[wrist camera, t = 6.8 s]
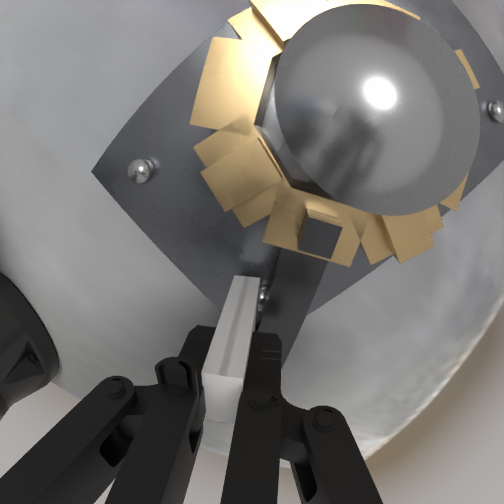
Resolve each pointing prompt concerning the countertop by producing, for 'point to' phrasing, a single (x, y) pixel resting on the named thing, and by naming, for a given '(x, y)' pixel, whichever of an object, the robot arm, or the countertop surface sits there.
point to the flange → (320, 137)
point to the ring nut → (276, 176)
